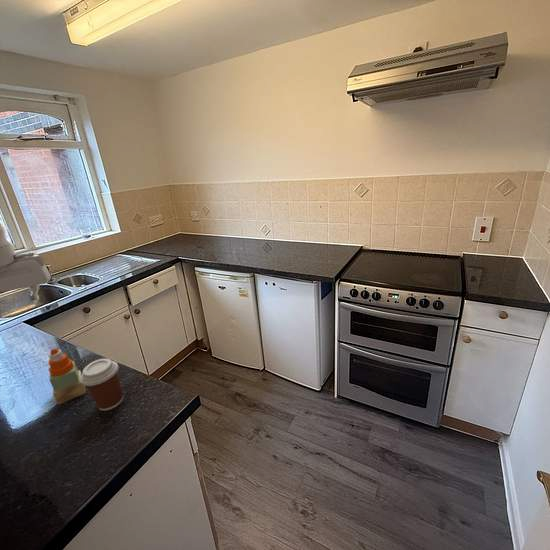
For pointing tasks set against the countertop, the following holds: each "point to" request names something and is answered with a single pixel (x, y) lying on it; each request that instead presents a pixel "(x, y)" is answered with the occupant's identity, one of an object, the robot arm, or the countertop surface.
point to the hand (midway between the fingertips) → (16, 304)
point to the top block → (65, 379)
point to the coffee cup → (103, 383)
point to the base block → (70, 391)
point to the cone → (59, 363)
